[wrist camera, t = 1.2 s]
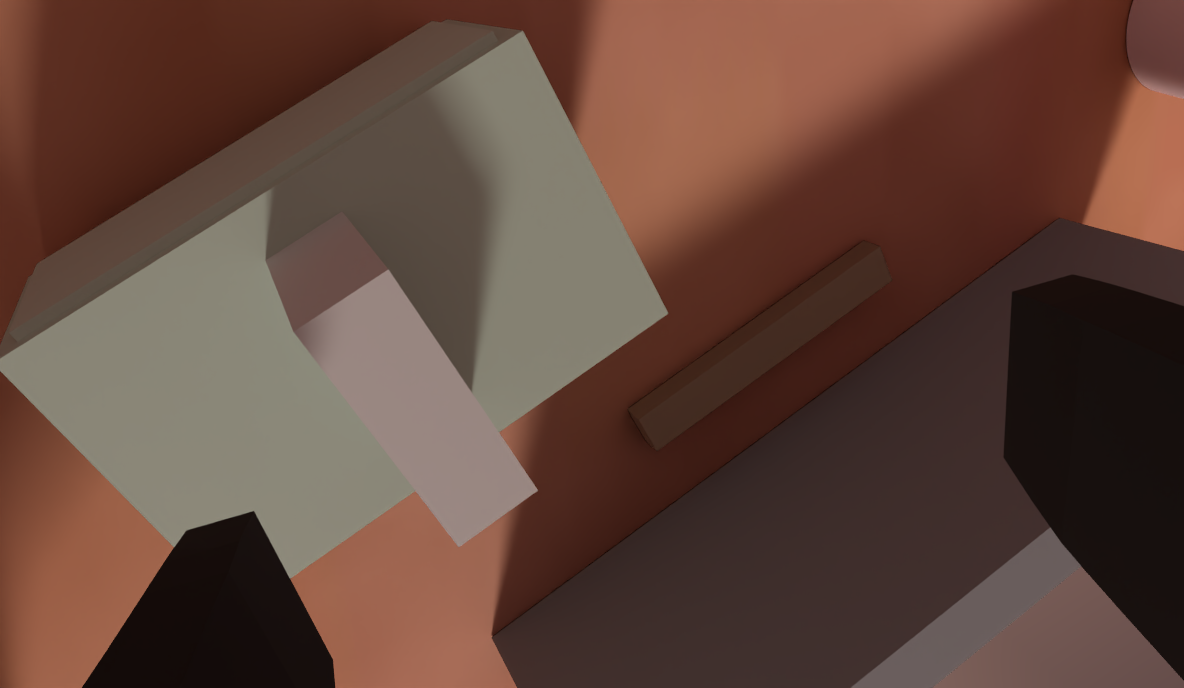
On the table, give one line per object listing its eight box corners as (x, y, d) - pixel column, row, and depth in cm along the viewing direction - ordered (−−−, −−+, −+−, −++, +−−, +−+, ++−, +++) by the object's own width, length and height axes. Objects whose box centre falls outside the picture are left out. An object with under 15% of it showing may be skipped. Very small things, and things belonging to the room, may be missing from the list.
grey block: (220, 466, 19) (258, 753, 12) (28, 253, 16) (-65, 459, 9) (557, 240, 20) (769, 380, 13) (427, 9, 17) (606, 31, 11)
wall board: (521, 675, 23) (649, 918, 17) (425, 553, 21) (532, 783, 15) (1070, 263, 26) (1346, 350, 20) (1034, 118, 24) (1331, 166, 18)
